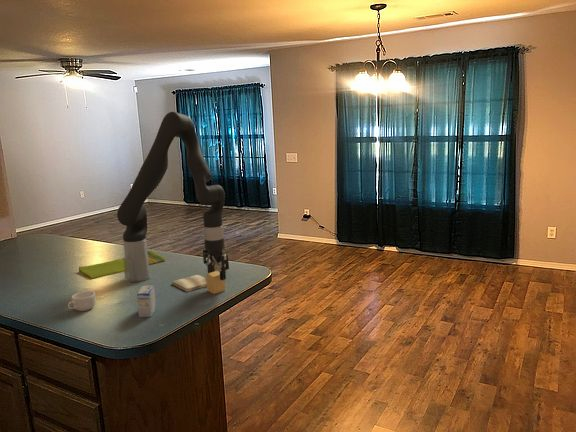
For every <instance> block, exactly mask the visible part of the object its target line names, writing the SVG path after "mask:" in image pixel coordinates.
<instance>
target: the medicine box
mask: <svg viewBox="0 0 576 432" xmlns="http://www.w3.org/2000/svg"><path fill="white" fill-rule="evenodd" d="M136 299H137V313H138V317H139V318H151V317H152V316H153V314H154V312H155V309H156V308H157V302H156V289H155V285H142V286H141V287H140V289H139V290H138V293H137V294H136Z"/></svg>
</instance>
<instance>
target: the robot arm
mask: <svg viewBox="0 0 576 432" xmlns="http://www.w3.org/2000/svg"><path fill="white" fill-rule="evenodd" d="M175 137H176V138H180V139H181V142H182V143H183V144H184V147H185V150H186V164H187V168H188V171H189V172H190V174H191V176H192V180H193V183H194V186H195V187H194V188H195V195H196V196H195V197H196V198H197V201H198V203H200V205H203V206H210V207H209V208H208V209H207V210H205V211H204V212H203V214H202V215H203V217H202V219H203V239H204V249H202V256H203V258H202V259H203V260H202V261H203V264H205V266H206V267H207V273H211V272H214V271H213V263H215V264H216V266H217V267H218V268H219V270H220V280H225V281H226V279H227V275H226V274H227V272H226V271H227V270H229V269H230V264H229V255H228V254H227V253H226V254H223V250H224V249H225V236H224V234H225V233H224V232H225V231H224V227H223V216H222V215H223V211H224V206H225V200H226V192H225V190H224V188H223V186H221V185H220V184H214V185H207V184H206V183H208V182H210V181H211V180H212V177H213V175H212V173H211V170H210V167H209V165H208V164H207V162H206V159H205V157H204V154H203V151H202V150H201V149H202V148H201V146H200V142H199V139H198V136H197V132H196V128H195V124H194V122H193V120H192V118H191V117H190V116H189V115H186V114H183V113H180V112H176V111H170V112H167V113H166V115H164V117H163V119H162V121H161V123H160V126H159V129H158V130H157V133H156V136H155V139H154V141H153V143H152V145H151V147H150V150H149V152H148V154H147V156H146V157H145V160H143V161H144V162H143V163H142V165H141V167H140V169H139V172H138V174H137V175H136V178H135V179H134V181H133V183H132V186H131V188H130V189H129V192H128V193H127V195H126V196H125V198H124V200H123V201H122V203H121V204H120V206H119V207H118V209H117V212H116V217H117V221H118V222H119V223H120V224H121V225H123V226H126V228H125V231H124V232H123V234H122V239H123V240H122V242H123V251H124V253H123V254H124V257H122V258H123V261H124V271H123V272H124V278H125V279H124V280H127V281H128V282H130V283H134V282H142V281H146V280H148V279H150V267H149V266H150V265H149V264H148V253H147V251H148V245H147V243H148V242H147V233H148V214H147V210H146V209H147V208H146V207H145V205H144V203H145V201H147V199H148V198H149V196H150V195H151V194H153V192H154V191H155V189H157V187H158V186H159V185H160V183H161V182H162V180H163V178H164V176H166V175H165V174H166V172H167V170H168V167H169V155H168V154H169V149H170V146H171V144H172V143H173V141H174V139H175ZM220 262H221V263H220ZM225 264H226V266H225ZM221 265H222V268H221Z"/></svg>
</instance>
